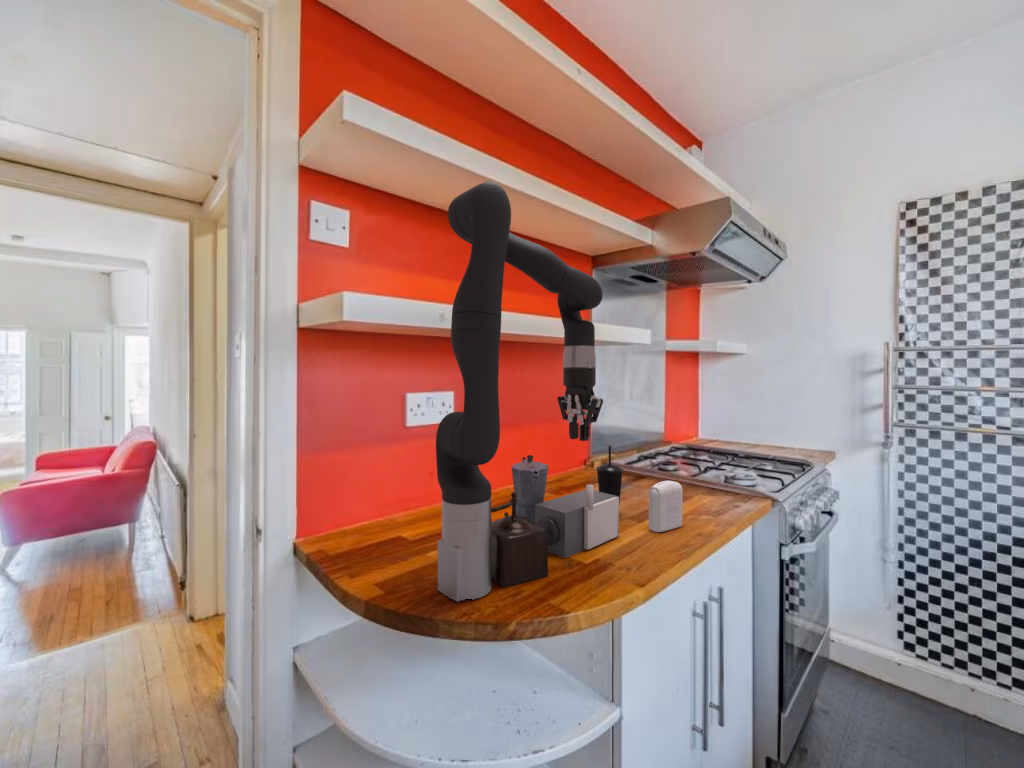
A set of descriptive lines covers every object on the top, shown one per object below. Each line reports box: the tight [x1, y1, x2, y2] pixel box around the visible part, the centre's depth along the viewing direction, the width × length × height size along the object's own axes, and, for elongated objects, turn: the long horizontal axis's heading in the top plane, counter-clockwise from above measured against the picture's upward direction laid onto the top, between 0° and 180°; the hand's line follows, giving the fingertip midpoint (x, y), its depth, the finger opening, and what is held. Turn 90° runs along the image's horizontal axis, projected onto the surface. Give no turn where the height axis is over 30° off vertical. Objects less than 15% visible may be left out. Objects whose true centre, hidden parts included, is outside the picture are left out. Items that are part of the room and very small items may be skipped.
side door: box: [584, 484, 620, 551], centre depth 105 cm, size 13×2×14 cm, turn 134°
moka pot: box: [511, 454, 549, 523], centre depth 113 cm, size 10×15×20 cm, turn 15°
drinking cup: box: [595, 445, 624, 504], centre depth 126 cm, size 8×8×20 cm
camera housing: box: [535, 489, 616, 559], centre depth 106 cm, size 21×9×10 cm, turn 134°
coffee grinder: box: [491, 491, 549, 588], centre depth 89 cm, size 16×11×18 cm
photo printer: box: [648, 480, 684, 533], centre depth 116 cm, size 10×4×12 cm, turn 123°
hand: (579, 439), depth 104 cm, fingers open, 3 cm apart
